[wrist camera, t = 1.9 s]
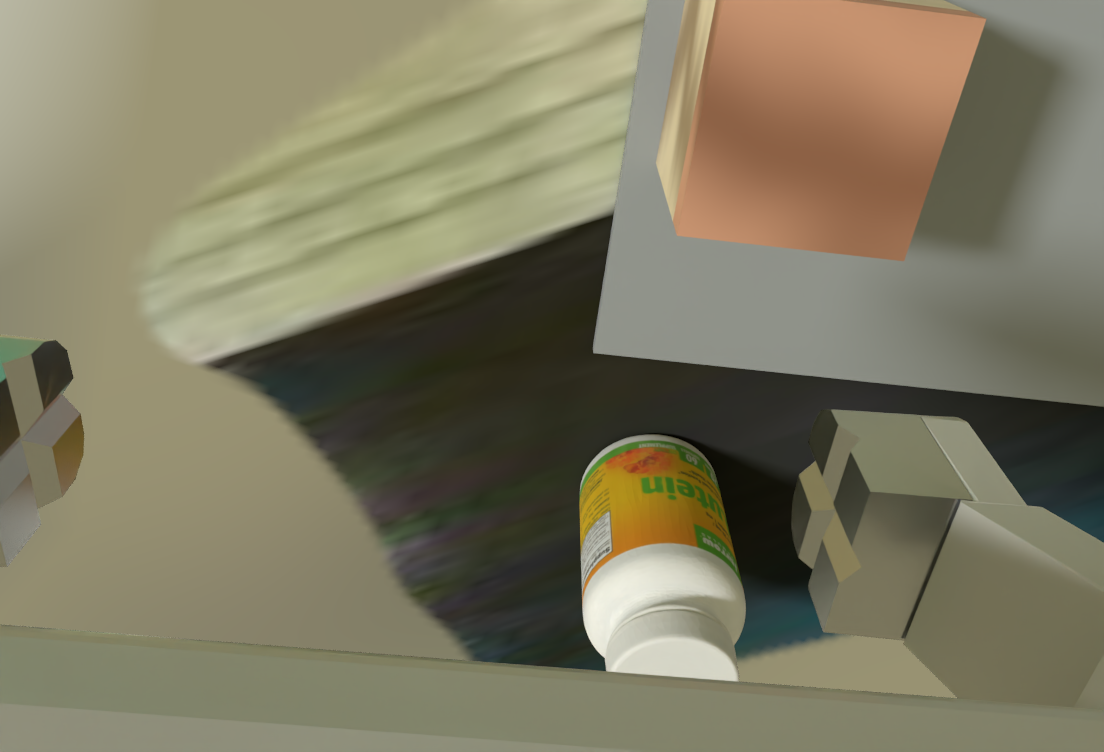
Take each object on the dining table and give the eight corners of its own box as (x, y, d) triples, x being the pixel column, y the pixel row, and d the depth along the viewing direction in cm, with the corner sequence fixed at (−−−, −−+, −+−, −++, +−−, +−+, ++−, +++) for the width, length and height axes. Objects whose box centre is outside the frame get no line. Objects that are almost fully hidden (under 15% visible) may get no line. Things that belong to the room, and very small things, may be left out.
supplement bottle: (741, 457, 35) (798, 653, 27) (677, 554, 38) (710, 761, 29) (614, 410, 34) (632, 599, 26) (557, 513, 36) (556, 715, 28)
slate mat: (705, -364, 22) (708, -368, 22) (1619, -229, 24) (1638, -230, 23) (593, 346, 32) (593, 353, 32) (1234, 413, 34) (1242, 421, 33)
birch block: (693, -46, 25) (726, -15, 20) (901, -19, 26) (986, 18, 21) (655, 163, 29) (676, 235, 23) (842, 184, 29) (903, 261, 24)
